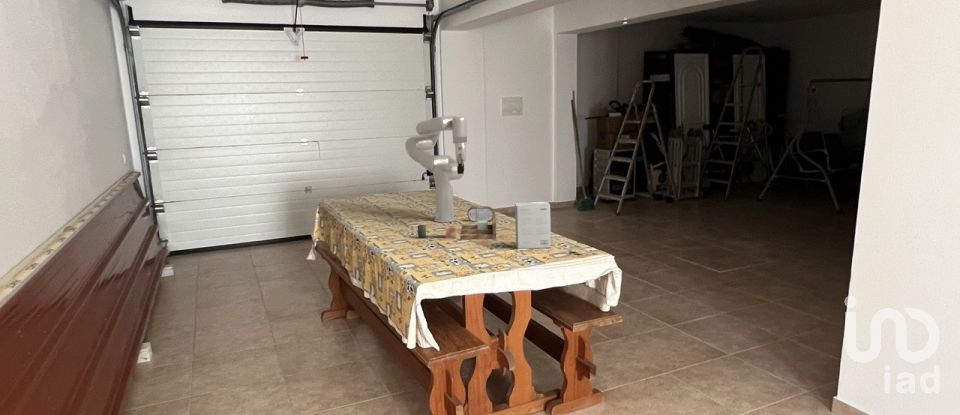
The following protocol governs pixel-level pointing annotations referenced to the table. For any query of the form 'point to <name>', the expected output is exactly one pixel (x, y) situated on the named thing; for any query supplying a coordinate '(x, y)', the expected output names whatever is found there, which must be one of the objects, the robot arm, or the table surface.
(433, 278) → the table surface
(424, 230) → the pull block
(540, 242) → the hard drive box
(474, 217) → the tin
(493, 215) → the lane rack
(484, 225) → the sage block
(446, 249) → the table surface
